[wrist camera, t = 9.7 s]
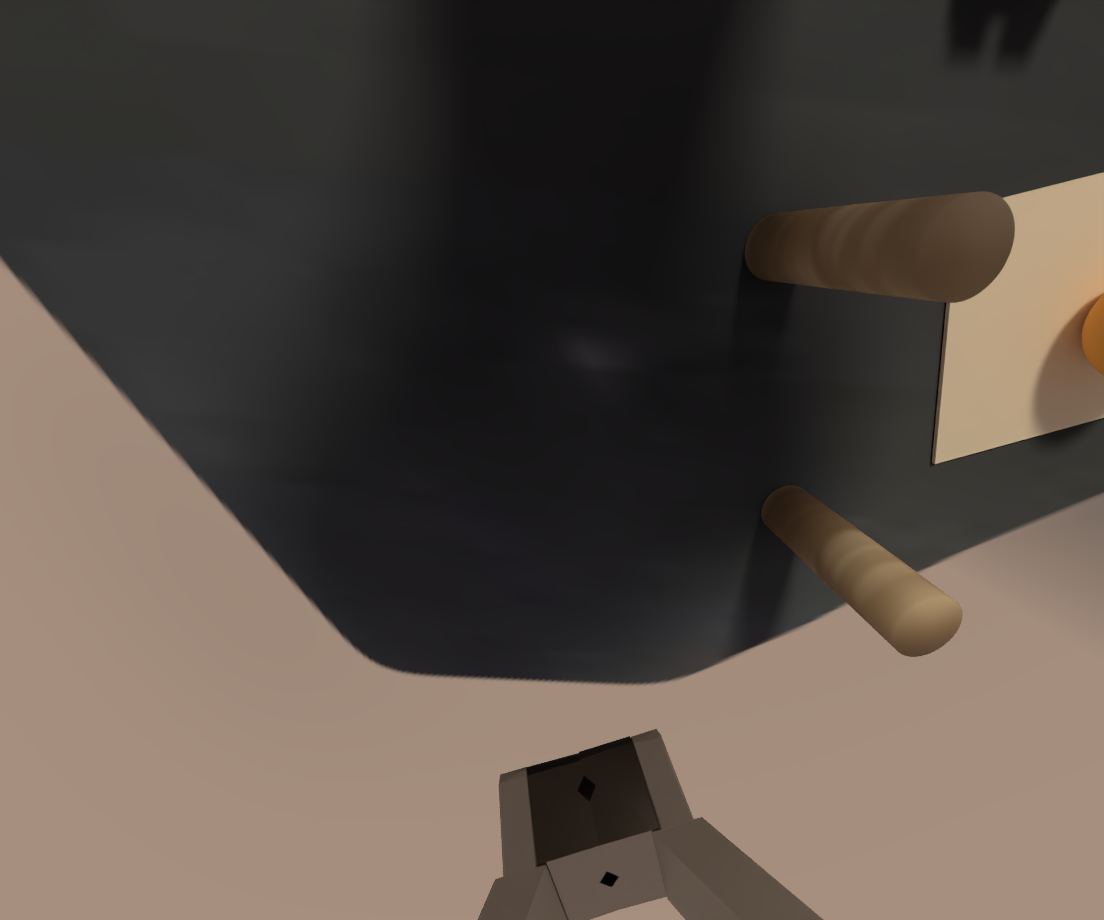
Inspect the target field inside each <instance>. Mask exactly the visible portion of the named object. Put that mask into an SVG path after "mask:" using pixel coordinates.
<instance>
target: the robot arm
mask: <svg viewBox="0 0 1104 920" xmlns="http://www.w3.org/2000/svg"><path fill="white" fill-rule="evenodd" d="M499 797H500V798H499V799H500V817H501V838H502V857H503V875H504V876H503V877H502V878H499V879H496V880H495V882H494V884H493V886H492V888H491V890H490V893H489V895H488V897H487V900H486V902H485V904H484V907H483V909H482V911H481V913H480V916H479V918H478V920H590V919H593V918H596V917H599V916H602V915H605V914H607V913H610V912H613V911H616V910H619V909H623V908H626V907H630V906H634V905H637V904H641V903H645V902H648V901H652V900H656V899H659V898H663V897H668V900H669V901H670V902H671V903H672V905H673V906H674V907H675V908H676V909H677V910H678V911H679V912H680V914H681V915H682V916H683V917H684V918H685V919H686V920H823V919H822V918H821V917H819V916H818V915H817V914H816V913H815V912H813V911H812V910H811V909H810V908H809V907H808V906H806V905H805V904H804V903H803V902H802V901H800V900H799V899H798V898H797V897H796V896H795V895H793V894H792V893H791V892H790V891H789V890H787V889H786V888H785V887H784V886H783V885H781V884H780V883H779V882H778V881H777V880H776V879H774V878H773V877H772V876H771V875H769V874H768V873H767V872H766V871H765V870H764V869H762V868H761V867H760V866H759V865H758V864H757V863H755V862H754V861H753V860H752V859H751V858H749V857H748V856H747V855H746V854H745V853H744V852H742V851H741V850H740V849H739V848H738V847H736V846H735V845H734V844H733V843H732V842H730V841H729V840H728V839H727V838H726V837H725V836H723V835H722V834H721V833H720V832H719V831H717V830H716V829H715V828H714V827H713V826H711V825H710V824H709V823H708V822H707V821H706V820H704V819H703V818H702V817H701V818H697V819H693V817H692V814H691V812H690V809H689V806H688V804H687V801H686V799H685V796H684V794H683V791H682V789H681V786H680V784H679V781H678V778H677V776H676V773H675V770H674V768H673V765H672V763H671V760H670V758H669V755H668V752H667V750H666V747H665V745H664V742H663V740H662V737H661V734H660V733H659V732H658V731H657V729H655V730H652V731H648V732H645V733H643V734H639V735H636V736H633V737H631V738H630V736H629V737H626V738H623V739H620V740H616V741H613V742H610V743H607V744H603V745H600V746H597V747H594V748H591V749H587V750H584V751H581V752H579V753H578V754H574V755H570V756H567V757H563V758H559V759H556V760H552V761H549V762H545V763H541V764H537V765H534V766H530V767H525V768H522V769H518V770H515V771H512V772H508V773H505V774H501V775H500V781H499Z"/></svg>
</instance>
